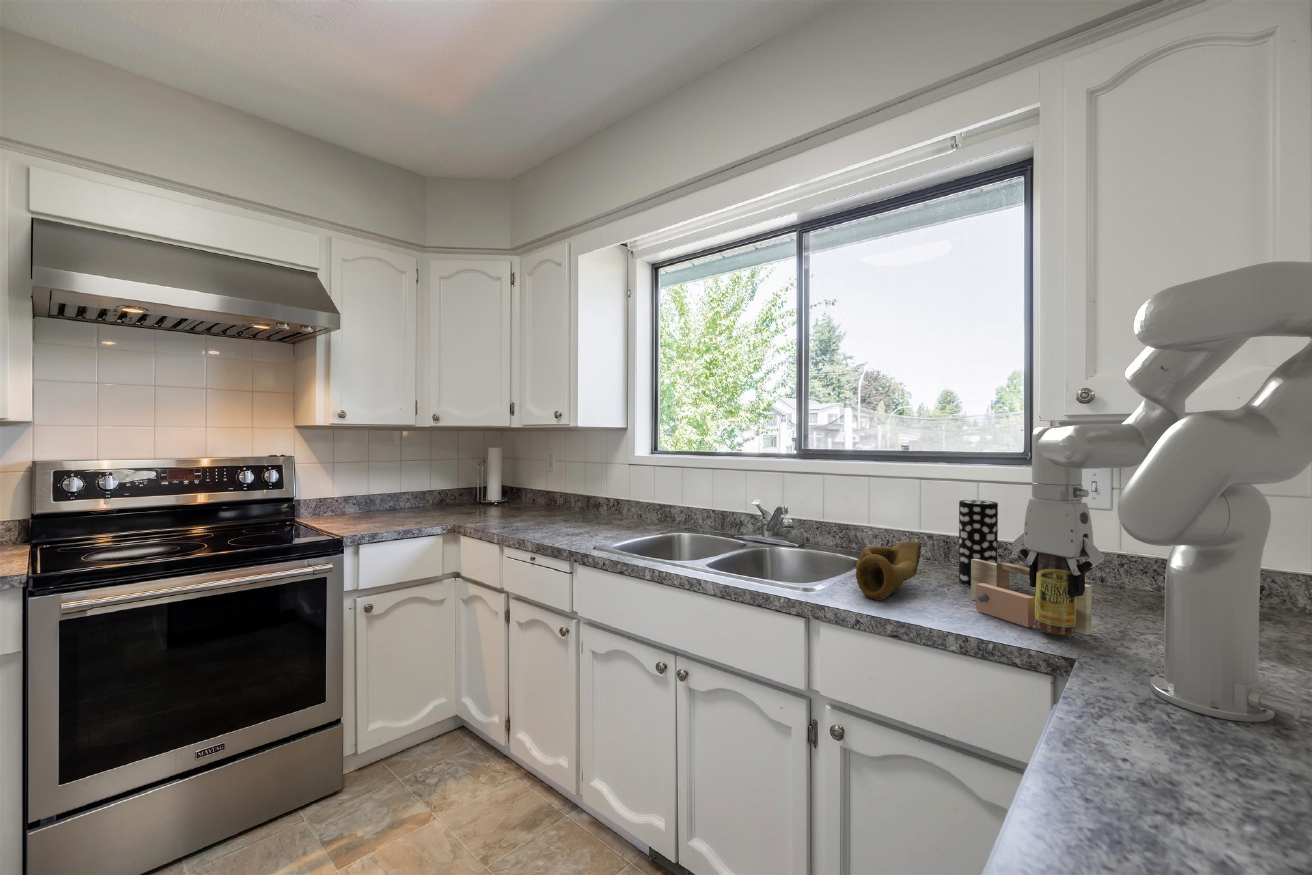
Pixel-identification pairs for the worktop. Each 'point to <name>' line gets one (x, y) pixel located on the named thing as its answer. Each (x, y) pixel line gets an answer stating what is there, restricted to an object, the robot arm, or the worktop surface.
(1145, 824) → the worktop surface
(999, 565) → the door frame
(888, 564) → the brown looped sculpture
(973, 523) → the spotted tube
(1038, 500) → the robot arm
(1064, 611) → the sauce bottle
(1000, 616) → the door
